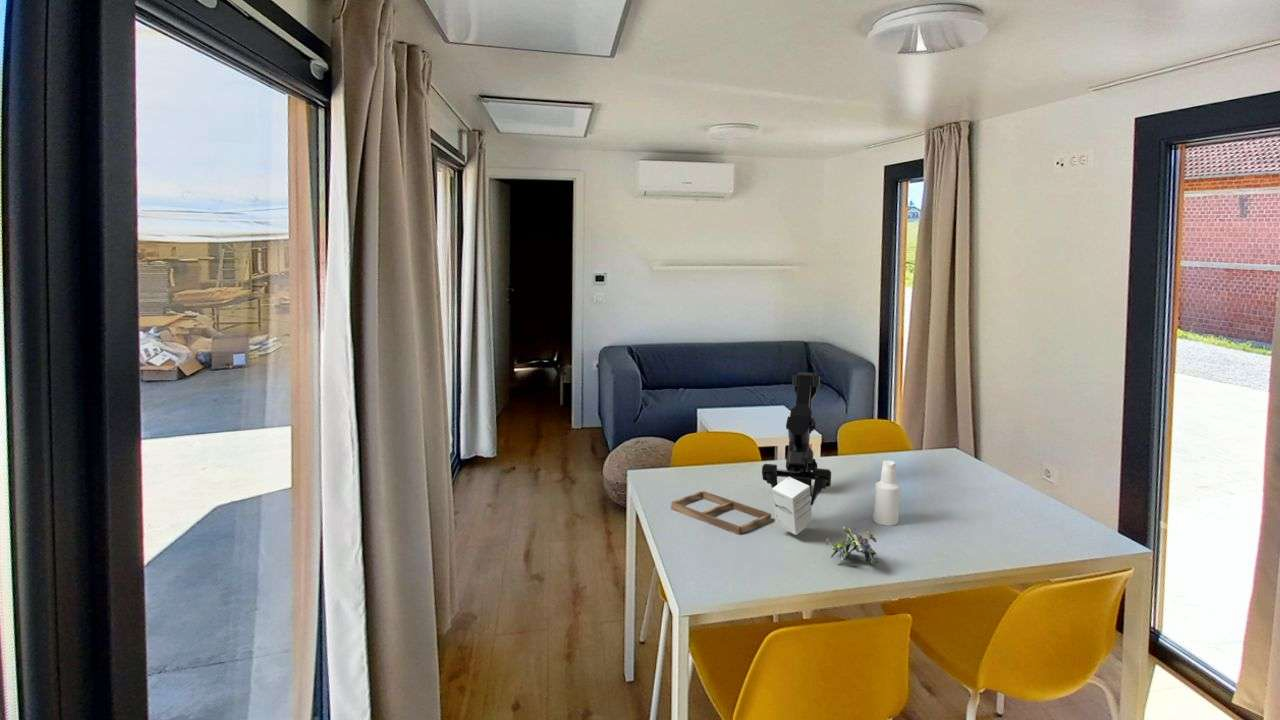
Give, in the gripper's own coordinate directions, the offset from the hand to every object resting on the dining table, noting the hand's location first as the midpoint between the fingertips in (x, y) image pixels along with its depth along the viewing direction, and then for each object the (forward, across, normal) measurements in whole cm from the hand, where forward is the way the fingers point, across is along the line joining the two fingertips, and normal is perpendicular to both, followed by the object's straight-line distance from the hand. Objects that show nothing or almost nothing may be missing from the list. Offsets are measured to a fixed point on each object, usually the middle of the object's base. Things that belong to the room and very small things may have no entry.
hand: (794, 503), depth 187 cm
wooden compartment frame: (0, -22, +14) cm, 26 cm away
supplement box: (+4, 0, +6) cm, 7 cm away
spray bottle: (-6, +25, +21) cm, 33 cm away
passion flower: (+16, +16, -2) cm, 22 cm away
